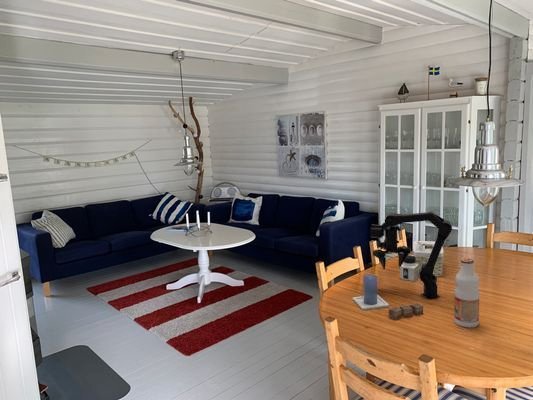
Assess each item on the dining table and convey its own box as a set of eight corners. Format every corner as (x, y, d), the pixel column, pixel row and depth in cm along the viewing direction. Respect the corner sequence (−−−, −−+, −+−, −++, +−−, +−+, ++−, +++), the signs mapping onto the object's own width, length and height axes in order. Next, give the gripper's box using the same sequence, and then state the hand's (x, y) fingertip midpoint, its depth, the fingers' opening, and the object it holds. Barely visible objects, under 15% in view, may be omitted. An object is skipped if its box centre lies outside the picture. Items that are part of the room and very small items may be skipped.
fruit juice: (470, 330, 166) (471, 264, 162) (449, 322, 174) (450, 259, 170) (483, 323, 171) (484, 259, 167) (462, 316, 179) (463, 254, 175)
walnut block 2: (412, 316, 182) (412, 308, 181) (404, 318, 181) (404, 309, 180) (407, 313, 186) (407, 304, 185) (399, 314, 185) (399, 305, 184)
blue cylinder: (380, 301, 198) (379, 276, 196) (372, 305, 194) (372, 279, 192) (368, 298, 203) (368, 273, 201) (360, 302, 199) (360, 276, 197)
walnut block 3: (423, 314, 184) (423, 305, 183) (416, 316, 182) (416, 307, 182) (416, 310, 187) (416, 302, 187) (409, 312, 186) (409, 304, 185)
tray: (377, 296, 206) (377, 294, 206) (389, 307, 193) (389, 304, 193) (352, 299, 204) (352, 297, 204) (362, 310, 191) (362, 308, 191)
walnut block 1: (401, 317, 182) (401, 309, 181) (396, 320, 179) (396, 311, 179) (394, 314, 185) (394, 306, 184) (388, 317, 182) (388, 309, 182)
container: (414, 281, 224) (414, 258, 222) (400, 279, 228) (400, 256, 226) (418, 277, 230) (418, 254, 228) (405, 274, 234) (404, 253, 233)
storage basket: (443, 277, 227) (444, 252, 224) (413, 276, 232) (412, 251, 230) (441, 264, 249) (441, 241, 247) (413, 263, 254) (413, 240, 252)
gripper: (398, 233, 216) (398, 261, 219) (367, 237, 212) (367, 266, 214) (411, 237, 206) (411, 267, 208) (378, 242, 201) (378, 272, 203)
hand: (391, 267), depth 209 cm, fingers open, 9 cm apart
